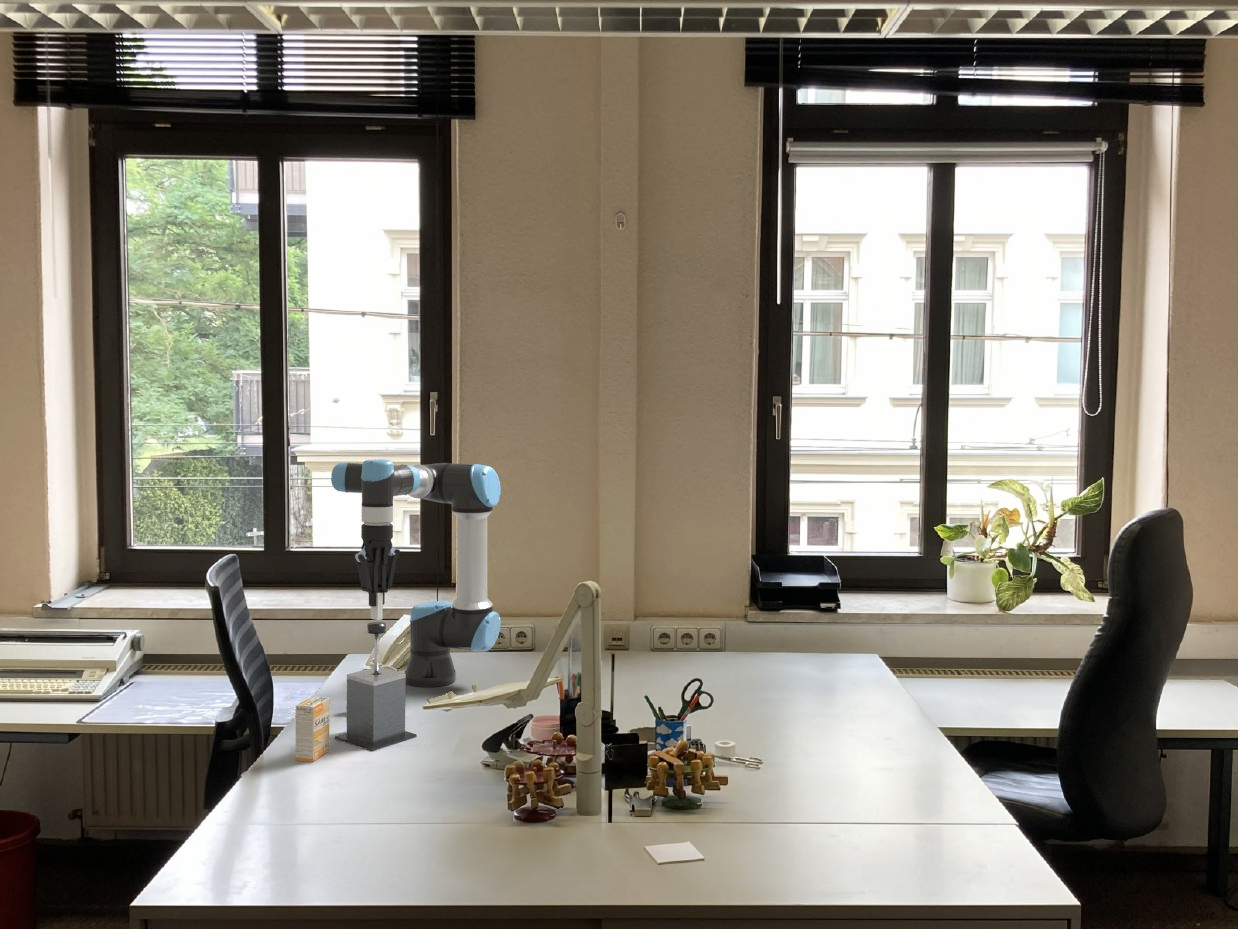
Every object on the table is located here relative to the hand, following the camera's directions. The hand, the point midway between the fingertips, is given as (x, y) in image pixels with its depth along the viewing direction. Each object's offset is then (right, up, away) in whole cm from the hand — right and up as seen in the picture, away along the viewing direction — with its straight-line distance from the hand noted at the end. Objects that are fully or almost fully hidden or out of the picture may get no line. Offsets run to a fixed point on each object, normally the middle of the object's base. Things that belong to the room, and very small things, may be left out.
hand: (376, 618), depth 263 cm
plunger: (0, -16, +1) cm, 16 cm away
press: (-1, -30, +2) cm, 30 cm away
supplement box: (-12, -31, -12) cm, 35 cm away
